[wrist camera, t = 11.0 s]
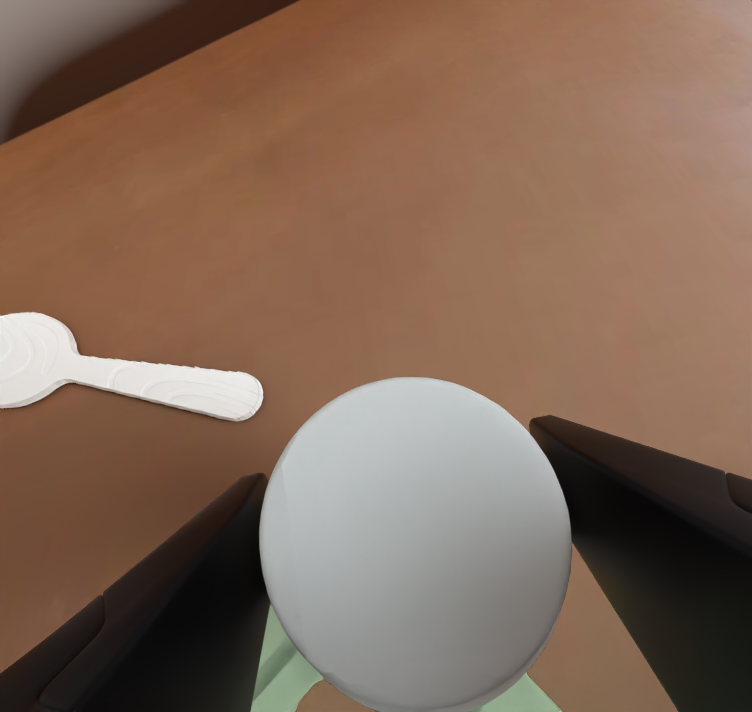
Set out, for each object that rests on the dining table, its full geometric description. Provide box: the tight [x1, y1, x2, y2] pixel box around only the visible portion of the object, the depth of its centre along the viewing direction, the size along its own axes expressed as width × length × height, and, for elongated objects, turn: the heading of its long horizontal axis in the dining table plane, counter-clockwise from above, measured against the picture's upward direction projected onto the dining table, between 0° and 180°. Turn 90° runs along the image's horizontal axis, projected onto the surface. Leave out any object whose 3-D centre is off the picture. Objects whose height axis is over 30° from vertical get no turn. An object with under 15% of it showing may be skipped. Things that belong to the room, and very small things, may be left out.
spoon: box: [0, 312, 263, 422], centre depth 23 cm, size 5×18×1 cm, turn 78°
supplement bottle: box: [259, 377, 572, 712], centre depth 10 cm, size 5×5×10 cm
